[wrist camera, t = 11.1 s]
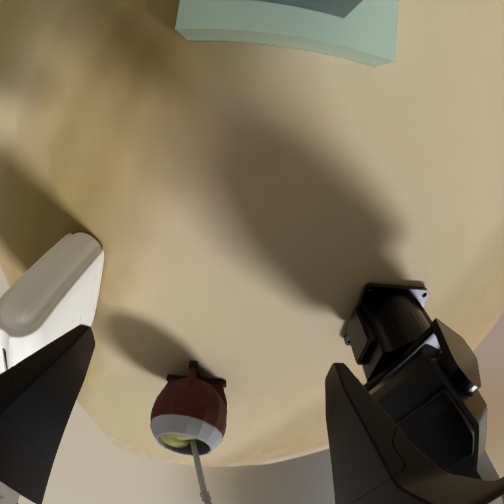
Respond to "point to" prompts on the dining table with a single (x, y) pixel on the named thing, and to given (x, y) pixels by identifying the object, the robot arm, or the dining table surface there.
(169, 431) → the mate gourd
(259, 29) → the sage stand
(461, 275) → the dining table surface
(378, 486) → the robot arm
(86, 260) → the photo printer
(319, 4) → the graphite housing
